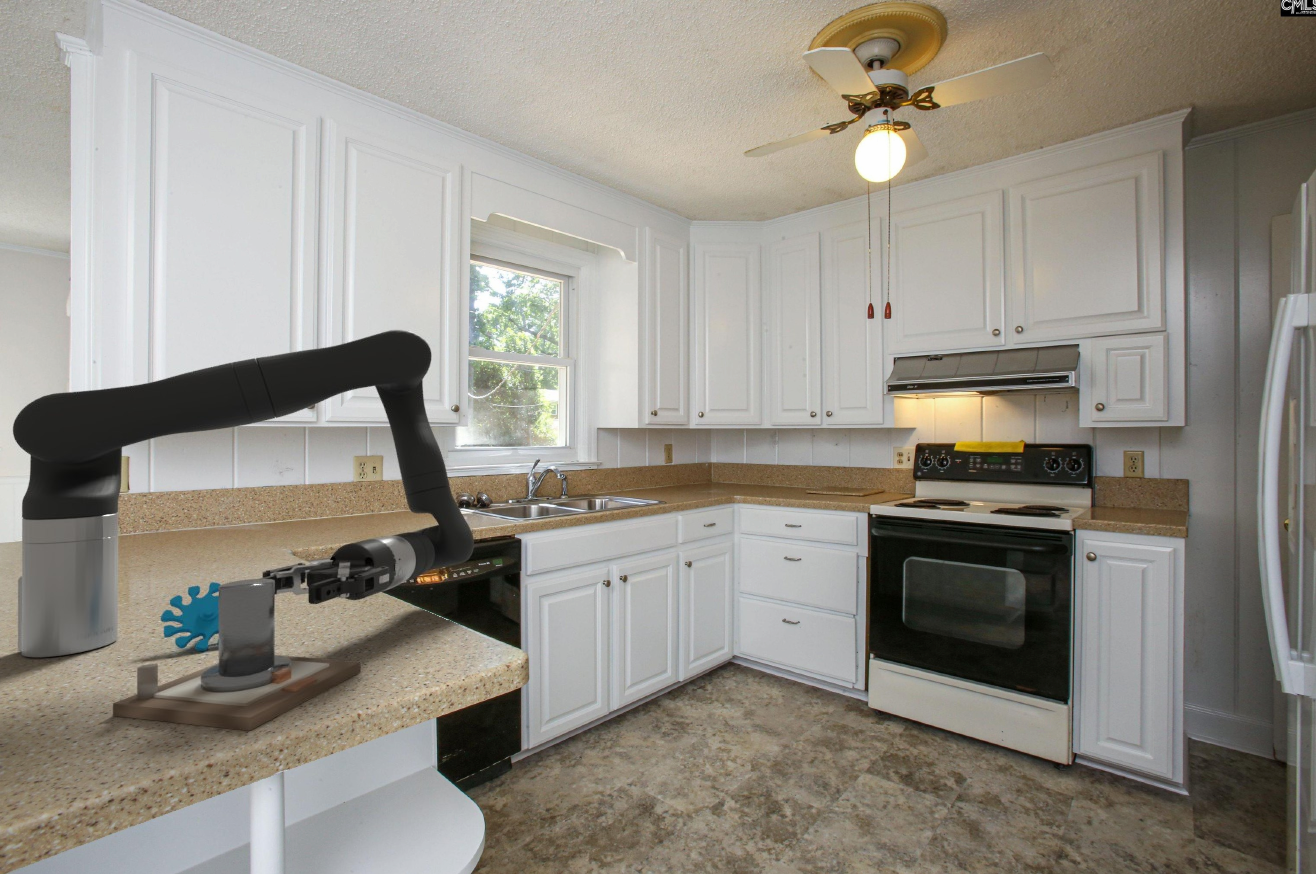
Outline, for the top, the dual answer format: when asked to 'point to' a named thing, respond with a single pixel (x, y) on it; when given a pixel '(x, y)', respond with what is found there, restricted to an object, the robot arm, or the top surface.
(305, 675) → the mount board
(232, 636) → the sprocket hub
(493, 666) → the top surface
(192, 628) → the gear
